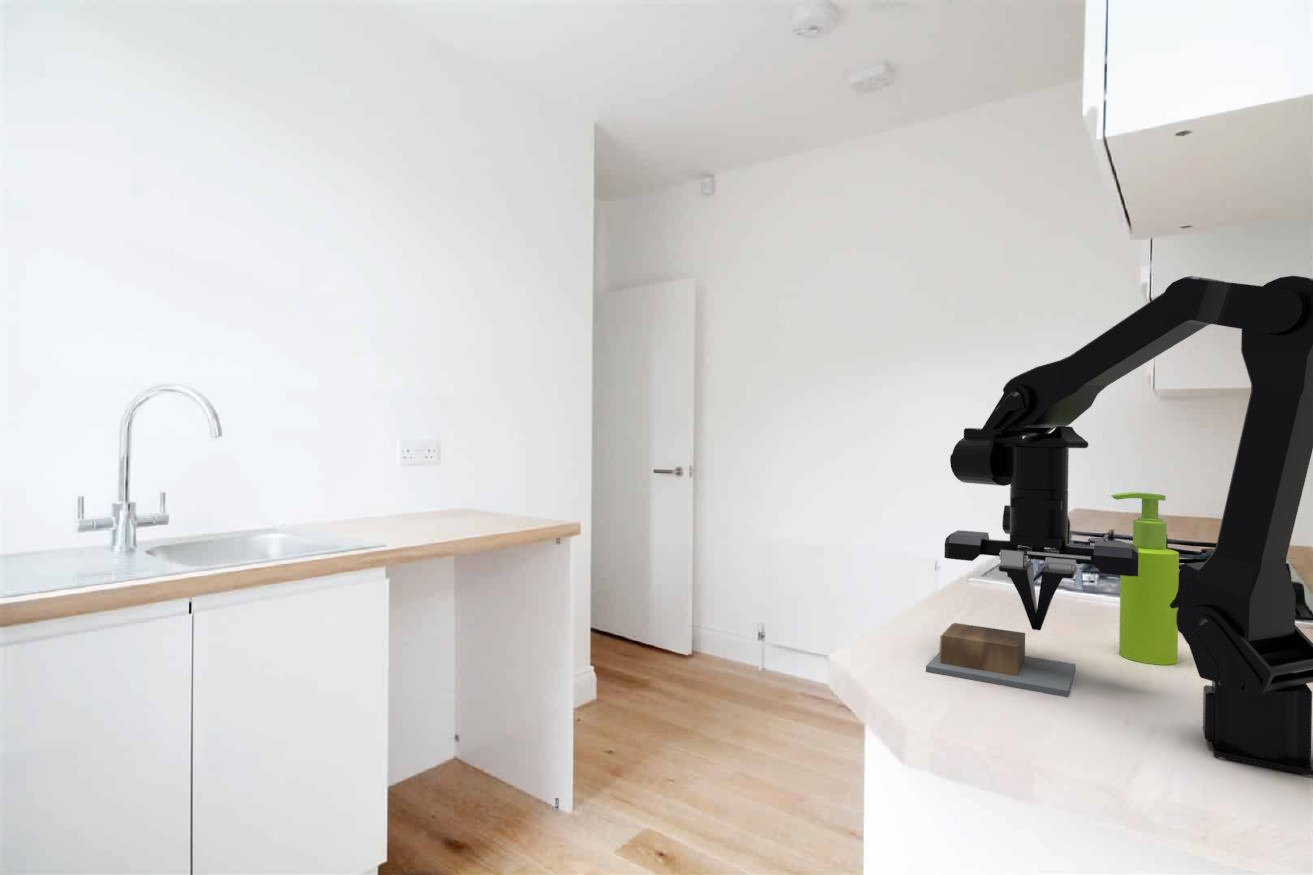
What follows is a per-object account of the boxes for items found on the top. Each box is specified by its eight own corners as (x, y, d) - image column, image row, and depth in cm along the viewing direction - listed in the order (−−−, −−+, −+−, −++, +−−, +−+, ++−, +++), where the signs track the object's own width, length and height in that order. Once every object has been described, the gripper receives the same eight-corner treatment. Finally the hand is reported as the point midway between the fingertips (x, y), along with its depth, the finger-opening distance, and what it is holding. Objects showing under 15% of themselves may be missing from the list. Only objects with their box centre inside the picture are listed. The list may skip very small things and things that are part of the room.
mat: (1075, 669, 85) (1075, 663, 85) (1067, 696, 75) (1067, 690, 75) (947, 648, 92) (947, 643, 92) (925, 671, 83) (926, 665, 83)
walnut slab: (1025, 632, 86) (952, 622, 90) (1017, 646, 80) (939, 634, 84) (1024, 660, 86) (952, 648, 90) (1016, 676, 80) (939, 662, 84)
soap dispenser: (1105, 647, 94) (1107, 490, 94) (1169, 653, 91) (1171, 492, 91) (1115, 660, 88) (1117, 493, 88) (1183, 667, 86) (1186, 495, 86)
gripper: (1138, 489, 84) (1137, 627, 84) (963, 482, 94) (961, 604, 94) (1139, 494, 74) (1137, 650, 74) (944, 486, 84) (942, 622, 84)
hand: (1036, 629), depth 82 cm, fingers closed
